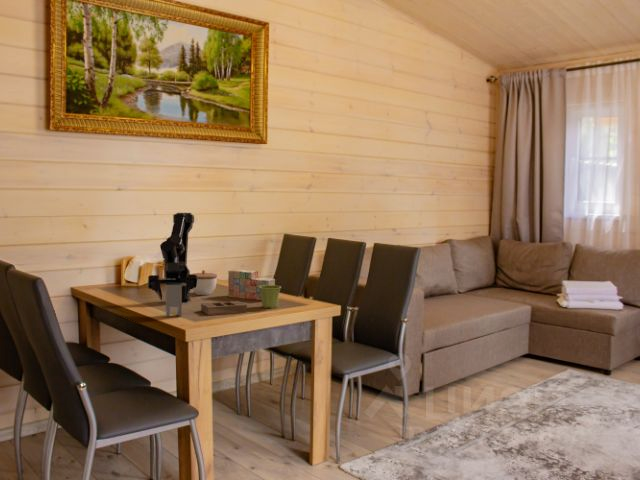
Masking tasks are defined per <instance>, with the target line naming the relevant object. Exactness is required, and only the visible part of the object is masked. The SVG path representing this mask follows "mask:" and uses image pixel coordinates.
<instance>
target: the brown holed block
mask: <svg viewBox="0 0 640 480" xmlns="http://www.w3.org/2000/svg"><path fill="white" fill-rule="evenodd" d="M200 311H201V312H203V313H204V314H206V315H208V316H215V315H228V314H242V313H248V304H246V303H243V302H242V301H239V300H234V301H217V302H215V301H214V302H202V303H200Z"/></svg>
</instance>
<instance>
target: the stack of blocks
mask: <svg viewBox="0 0 640 480" xmlns="http://www.w3.org/2000/svg"><path fill="white" fill-rule="evenodd" d="M227 272H228V273H227V274H228V279H227V280H228V281H227V282H228V292H227V293H228V294H227V295H228V297H229V298H236V297H237V299H245V298H246V300H257V301H262V298H261V291H260V288H259V286H264V285H276V279H275V278H269V277H259V272H258V270H249V269H232V270H231V269H230V270H228V271H227Z"/></svg>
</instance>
